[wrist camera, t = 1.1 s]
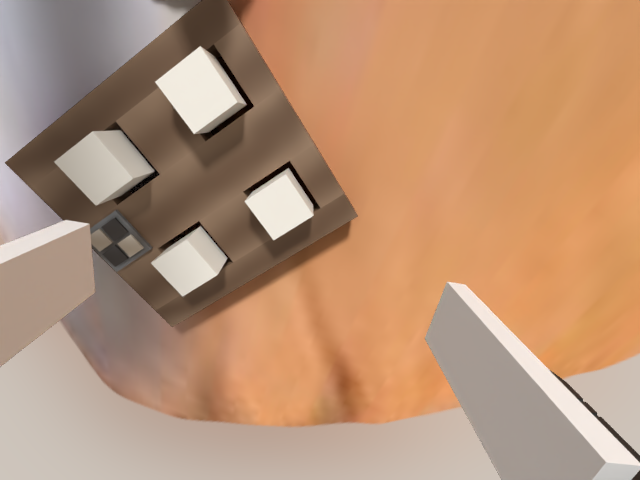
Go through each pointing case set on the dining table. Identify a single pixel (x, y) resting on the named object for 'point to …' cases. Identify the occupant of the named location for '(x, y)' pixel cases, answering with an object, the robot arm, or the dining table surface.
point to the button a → (104, 165)
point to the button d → (280, 204)
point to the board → (188, 166)
